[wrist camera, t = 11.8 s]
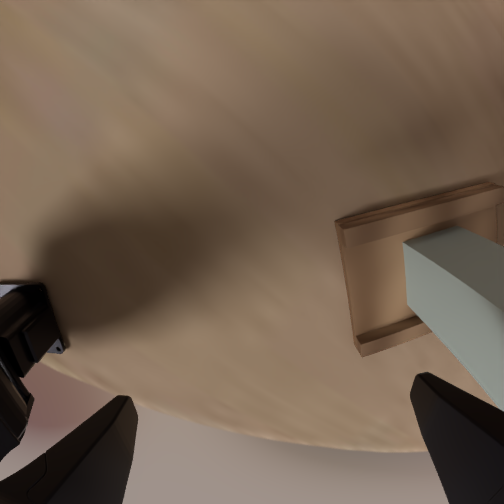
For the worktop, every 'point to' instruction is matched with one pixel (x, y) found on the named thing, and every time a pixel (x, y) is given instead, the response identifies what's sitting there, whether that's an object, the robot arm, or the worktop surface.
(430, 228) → the walnut trough
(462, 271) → the block
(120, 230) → the worktop surface
